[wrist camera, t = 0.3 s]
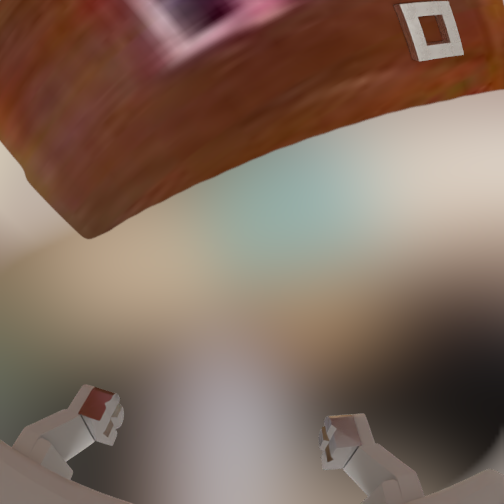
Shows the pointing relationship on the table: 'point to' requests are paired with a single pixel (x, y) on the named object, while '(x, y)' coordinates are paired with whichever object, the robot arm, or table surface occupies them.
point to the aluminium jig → (414, 32)
